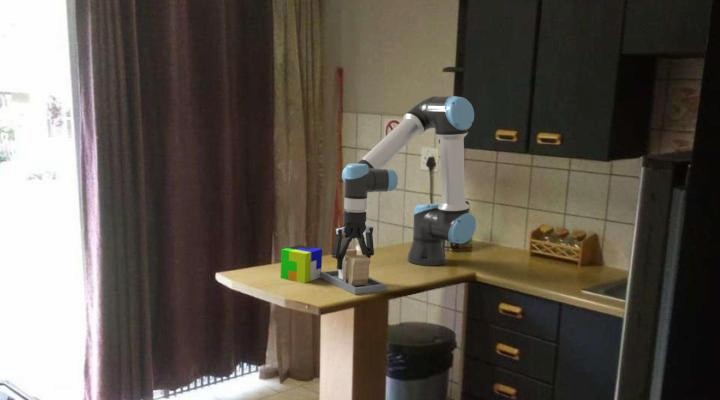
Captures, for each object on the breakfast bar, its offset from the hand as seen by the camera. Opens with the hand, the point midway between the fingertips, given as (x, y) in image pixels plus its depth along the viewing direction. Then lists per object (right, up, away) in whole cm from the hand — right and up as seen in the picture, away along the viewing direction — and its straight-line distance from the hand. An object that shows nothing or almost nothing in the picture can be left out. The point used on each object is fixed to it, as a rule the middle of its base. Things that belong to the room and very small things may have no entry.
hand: (352, 277), depth 213 cm
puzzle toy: (-18, -1, +6) cm, 19 cm away
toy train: (0, -2, 0) cm, 2 cm away
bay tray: (0, -2, 0) cm, 2 cm away
